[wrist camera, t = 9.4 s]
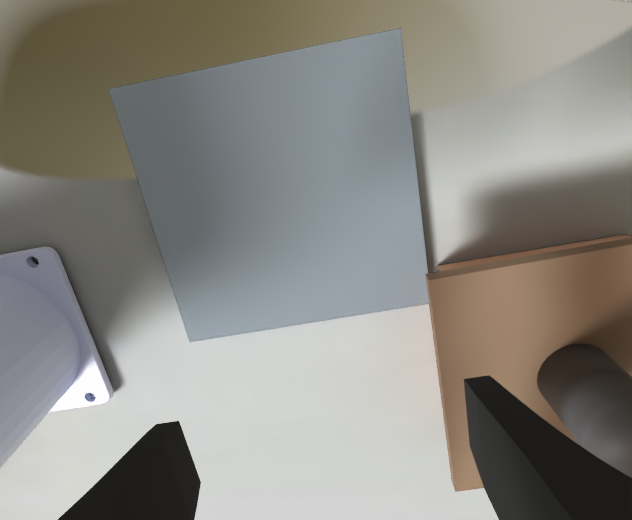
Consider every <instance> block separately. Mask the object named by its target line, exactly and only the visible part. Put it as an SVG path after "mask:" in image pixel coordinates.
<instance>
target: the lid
mask: <svg viewBox="0 0 632 520" xmlns="http://www.w3.org/2000/svg"><path fill="white" fill-rule="evenodd" d="M425 275H426V283H427V291H428V299H429V306H430V314H431V322H432V330H433V338H434V346H435V353H436V361H437V369H438V377H439V385H440V393H441V400H442V408H443V416H444V424H445V432H446V440H447V447H448V455H449V463H450V471H451V479H452V483H453V486H454V489H455V492H457V491H464V490H471V489H478V488H484V486H483V483H482V480H481V478H480V475H479V472H478V469H477V466H476V463H475V460H474V457H473V454H472V451H471V448H470V444H469V433H468V422H467V411H466V400H465V389H464V379H467V378H474V377H481V376H487V375H489V376H491V377H492V378H493V379H495V380H496V381H497V382H498V383H500V384H501V385H502V386H503V387H504V388H506V389H507V390H508V391H509V392H510V393H512V394H513V395H514V396H515V397H516V398H518V399H519V400H520V401H521V402H523V403H524V404H525V405H526V406H528V407H529V408H530V409H531V410H533V411H534V412H535V413H536V414H538V415H539V416H540V417H542V418H543V419H544V420H546V421H547V422H548V423H550V424H551V425H552V426H554V427H555V428H556V429H558V430H559V431H560V432H562V433H563V434H564V435H566V436H567V437H569V438H570V439H571V440H573V441H574V442H576V443H577V444H579V445H580V446H581V447H583V448H584V449H586V450H587V451H589V452H590V453H592V454H593V455H595V456H596V457H598V458H599V459H601V460H603V461H604V462H606V463H607V464H609V465H611V466H612V467H614V468H615V469H617V470H619V471H621V472H622V473H624V474H626V475H627V476H629V477H631V478H632V237H631V238H625V239H620V240H614V241H608V242H603V243H597V244H592V245H586V246H580V247H575V248H569V249H563V250H558V251H552V252H547V253H541V254H535V255H530V256H524V257H519V258H513V259H507V260H502V261H496V262H490V263H485V264H479V265H474V266H468V267H462V268H457V269H451V270H445V271H440V272H434V273H429V274H425Z"/></svg>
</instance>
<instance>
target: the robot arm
mask: <svg viewBox="0 0 632 520" xmlns="http://www.w3.org/2000/svg"><path fill="white" fill-rule="evenodd" d="M32 256H33V257H35V258H36V259H37V260H38V262H39V265H38V264H35V263H34V262H33V261H32ZM464 389H465V400H466V411H467V422H468V433H469V444H470V448H471V451H472V454H473V457H474V460H475V463H476V466H477V469H478V472H479V475H480V478H481V480H482V483H483V486H484V488H485V490H486V493H487V495H488V497H489V499H490V501H491V503H492V505H493V508H494V510H495V512H496V514H497V516H498V518H499V520H632V478H631V477H629V476H627V475H626V474H624V473H622V472H621V471H619V470H617V469H615V468H614V467H612V466H611V465H609V464H607V463H606V462H604V461H603V460H601V459H599V458H598V457H596V456H595V455H593V454H592V453H590V452H589V451H587V450H586V449H584V448H583V447H581V446H580V445H579V444H577V443H576V442H574V441H573V440H571V439H570V438H569V437H567V436H566V435H564V434H563V433H562V432H560V431H559V430H558V429H556V428H555V427H554V426H552V425H551V424H550V423H548V422H547V421H546V420H544V419H543V418H542V417H540V416H539V415H538V414H536V413H535V412H534V411H533V410H531V409H530V408H529V407H528V406H526V405H525V404H524V403H523V402H521V401H520V400H519V399H518V398H516V397H515V396H514V395H513V394H512V393H510V392H509V391H508V390H507V389H506V388H504V387H503V386H502V385H501V384H500V383H498V382H497V381H496V380H495V379H493V378H492V377H491V376H489V375H487V376H481V377H474V378H467V379H464ZM89 393H92V394H94V395H95V397H93V396H91V395H90V394H89ZM113 394H114V392H113V388H112V386H111V383H110V381H109V378H108V376H107V373H106V371H105V368H104V366H103V364H102V361H101V359H100V356H99V354H98V351H97V349H96V346H95V344H94V341H93V339H92V336H91V334H90V331H89V329H88V326H87V324H86V321H85V319H84V316H83V314H82V311H81V309H80V306H79V304H78V301H77V299H76V297H75V294H74V292H73V289H72V287H71V284H70V282H69V279H68V277H67V274H66V272H65V269H64V267H63V264H62V262H61V259H60V257H59V255H58V253H57V252H56V251H55V250H54V249H53V248H50V247H39V248H33V249H28V250H22V251H17V252H11V253H6V254H0V468H1V467H2V466H3V465H4V463H5V462H6V461H7V460H8V459H9V458H10V457H11V455H12V454H13V453H14V452H15V451H16V450H17V448H18V447H19V446H20V445H21V444H22V443H23V441H24V440H25V439H26V438H27V437H28V436H29V435H30V433H31V432H32V431H33V430H34V429H35V428H36V426H37V425H38V424H39V423H40V422H41V421H42V419H43V418H44V417H45V416H46V415H47V414H48V412H53V411H59V410H66V409H72V408H79V407H86V406H92V405H99V404H105V403H107V402H108V401H110V399H111V398H112V396H113ZM200 483H201V482H200V479H199V476H198V474H197V471H196V468H195V465H194V462H193V460H192V457H191V454H190V451H189V448H188V445H187V443H186V440H185V437H184V434H183V431H182V428H181V426H180V423H179V421H176V422H169V423H162V424H156V425H155V426H154V427H153V428H152V429H150V430H149V431H148V432H147V433H146V434H145V435H144V436H143V437H142V438H141V439H140V440H139V441H138V442H137V443H136V444H135V445H134V446H133V447H132V448H131V449H130V450H129V451H128V452H127V453H126V454H125V455H124V456H123V457H122V458H121V459H120V460H119V461H118V462H117V463H116V464H115V465H114V466H113V467H112V468H111V469H110V470H109V471H108V472H107V473H106V474H105V475H104V476H103V477H102V478H101V479H100V480H99V481H98V482H97V483H96V484H95V485H94V486H93V487H92V488H91V489H90V490H89V491H88V492H87V493H86V494H85V495H84V496H83V497H82V498H81V499H79V500H78V501H77V502H76V503H75V504H74V505H73V506H72V507H71V508H70V509H69V510H68V511H67V512H66V513H64V514H63V515H62V516H61V517H60V518H59V519H58V520H194V517H195V512H196V507H197V502H198V495H199V489H200Z"/></svg>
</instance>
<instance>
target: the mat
mask: <svg viewBox="0 0 632 520" xmlns="http://www.w3.org/2000/svg"><path fill="white" fill-rule="evenodd" d="M108 90H109V93H110V96H111V99H112V102H113V105H114V108H115V111H116V115H117V118H118V121H119V124H120V127H121V130H122V133H123V136H124V139H125V143H126V145H127V149H128V152H129V155H130V158H131V161H132V164H133V167H134V170H135V174H136V177H137V180H138V183H139V186H140V189H141V192H142V195H143V199H144V202H145V205H146V208H147V211H148V214H149V217H150V220H151V223H152V227H153V230H154V233H155V236H156V239H157V242H158V245H159V248H160V251H161V255H162V258H163V261H164V264H165V267H166V270H167V273H168V276H169V280H170V283H171V286H172V289H173V292H174V295H175V298H176V301H177V304H178V308H179V311H180V314H181V317H182V320H183V323H184V326H185V329H186V332H187V336H188V339H189V342H194V341H201V340H207V339H213V338H219V337H225V336H232V335H238V334H244V333H250V332H257V331H263V330H269V329H275V328H281V327H288V326H294V325H300V324H306V323H312V322H319V321H325V320H331V319H337V318H343V317H350V316H356V315H362V314H368V313H374V312H381V311H387V310H393V309H399V308H406V307H412V306H418V305H424V304H429V299H428V291H427V283H426V275H425V274H428V269H427V260H426V251H425V242H424V233H423V224H422V215H421V206H420V197H419V188H418V179H417V170H416V161H415V152H414V143H413V134H412V125H411V116H410V107H409V98H408V89H407V80H406V71H405V62H404V53H403V44H402V35H401V28H399V29H394V30H389V31H384V32H380V33H375V34H370V35H365V36H361V37H355V38H351V39H346V40H341V41H336V42H332V43H327V44H322V45H317V46H312V47H308V48H303V49H298V50H293V51H288V52H283V53H278V54H274V55H269V56H264V57H259V58H254V59H250V60H245V61H240V62H235V63H231V64H226V65H221V66H216V67H212V68H206V69H202V70H197V71H192V72H187V73H183V74H177V75H173V76H168V77H163V78H158V79H154V80H149V81H144V82H139V83H134V84H130V85H125V86H120V87H115V88H111V89H108Z"/></svg>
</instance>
